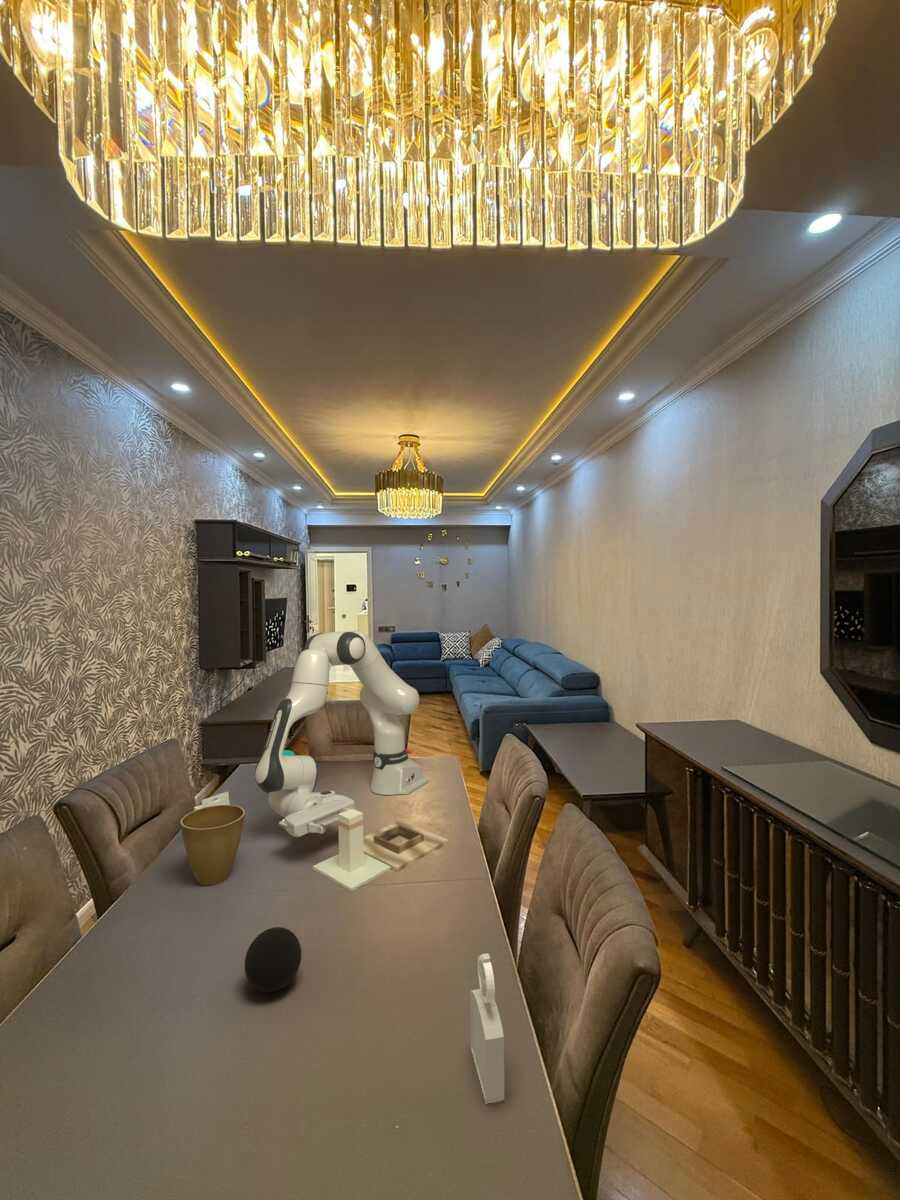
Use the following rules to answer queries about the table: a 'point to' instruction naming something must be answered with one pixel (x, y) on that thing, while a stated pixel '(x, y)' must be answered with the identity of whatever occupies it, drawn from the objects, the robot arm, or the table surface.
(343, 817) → the banded cream pillar
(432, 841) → the wooden square socket board
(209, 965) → the table surface
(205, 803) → the ink cartridge box
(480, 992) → the grey block with loop
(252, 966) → the decorative ball
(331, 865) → the pad
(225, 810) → the plant pot
